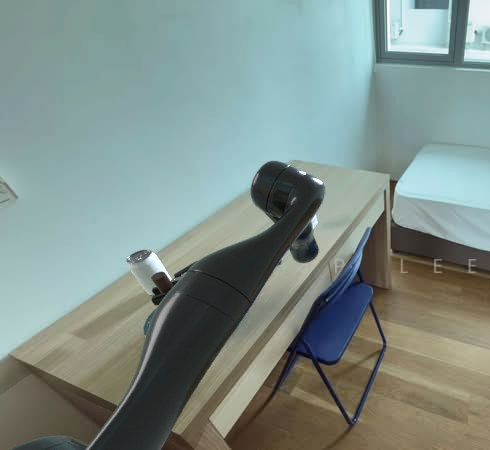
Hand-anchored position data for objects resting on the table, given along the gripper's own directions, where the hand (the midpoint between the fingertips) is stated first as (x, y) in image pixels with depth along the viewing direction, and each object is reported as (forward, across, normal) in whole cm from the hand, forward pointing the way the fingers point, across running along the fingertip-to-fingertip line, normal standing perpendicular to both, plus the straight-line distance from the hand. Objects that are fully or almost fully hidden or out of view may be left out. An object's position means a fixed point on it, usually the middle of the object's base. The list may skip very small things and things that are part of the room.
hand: (153, 297), depth 69 cm
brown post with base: (-3, 0, +10) cm, 10 cm away
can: (+4, -20, +12) cm, 24 cm away
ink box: (-40, -27, +13) cm, 50 cm away
